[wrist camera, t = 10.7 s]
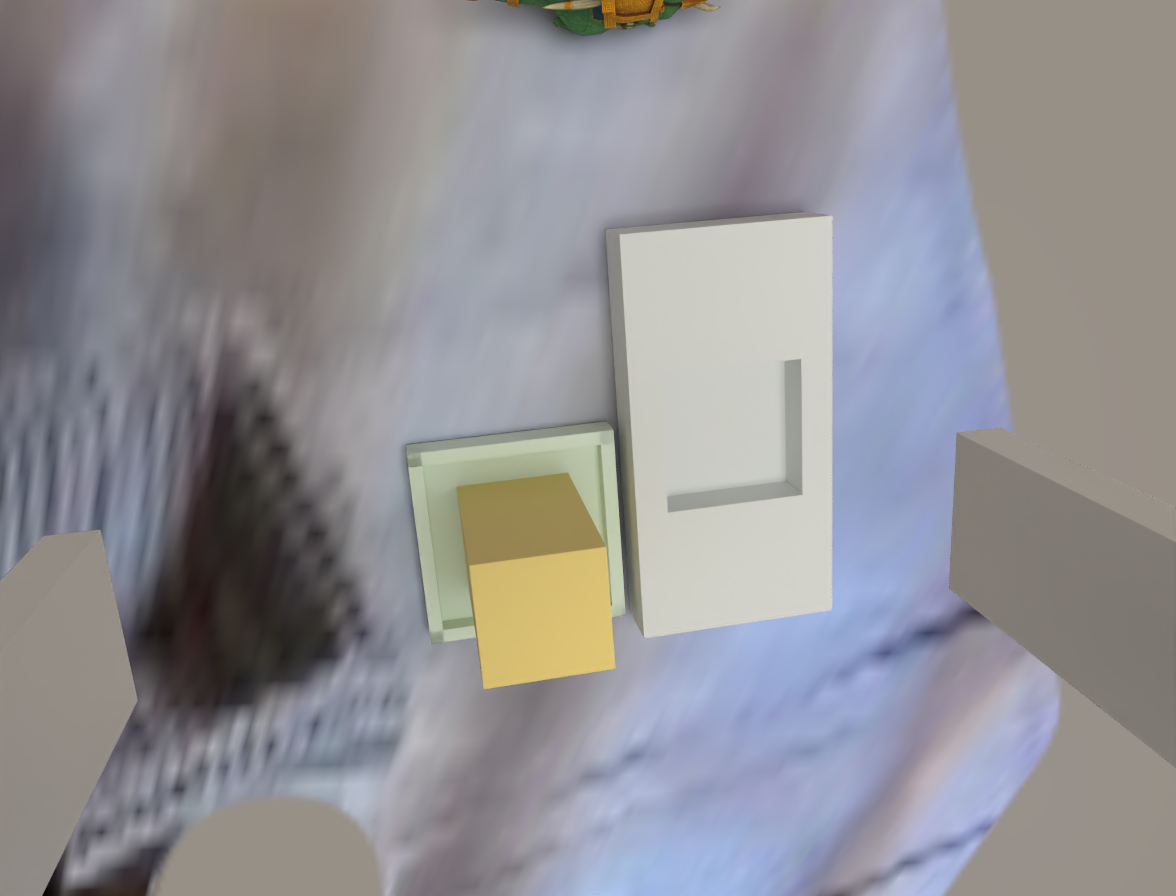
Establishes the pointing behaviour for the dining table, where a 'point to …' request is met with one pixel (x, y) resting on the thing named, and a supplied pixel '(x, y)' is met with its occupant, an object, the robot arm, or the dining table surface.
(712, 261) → the recessed block
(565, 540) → the block
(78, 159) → the dining table surface
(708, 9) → the figurine
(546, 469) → the tray
